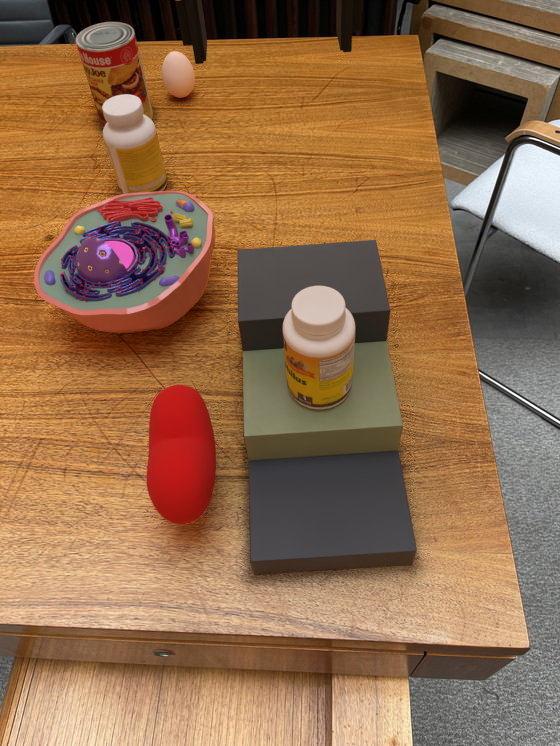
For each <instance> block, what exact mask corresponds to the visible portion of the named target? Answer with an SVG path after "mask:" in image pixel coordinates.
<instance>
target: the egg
mask: <svg viewBox="0 0 560 746" xmlns="http://www.w3.org/2000/svg"><path fill="white" fill-rule="evenodd" d="M161 79H162V82H163V85H164V88H165V89H166V91H167V92H168V93H169V94H170V95H172V96H173V97H176V98H178V99H183V98H186V97H187V96H189V95H190V94H191V93H192V91H193V89H194V87H195V84H196V83H195V82H196V76H195V71H194V68H193V65H192V62H190V60H189V59H188V57H187V56H186V55H185V54H183V53H182V52H181V51H176V50H174V51H171V52H168V54H167V55H166V56H165V58H164V60H163V62H162V67H161Z"/></svg>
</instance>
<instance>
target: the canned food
mask: <svg viewBox="0 0 560 746" xmlns="http://www.w3.org/2000/svg"><path fill="white" fill-rule="evenodd" d="M75 44H76V47H77V51H78V53H79V56H80V57H79V58H80V60H81V63H82V66H83V67H82V68H83V70H84V73H85V77H86V80H87V83H88V86H89V89H90V94H91V96H92V99H93V102H94V106H95V109H96V113H97V115H98V119H99V123H100V125H101V127H102V128H103V129H104V127H105V125H106V123H107V121H106V120H105V118H104V114H103V110H102V106H103V104H104V102H105V101H107V100H108V99H110V98H112V97H114V96H117V95H124V94H130V95H134V96H137V97H138V98H139V99H140V100H141V102H142V106H143V109H144V115H146V116H147V117H149V118H150V119H151V120H152V119H153V118H154V111H153V107H152V102H151V98H150V94H149V89H148V85H147V81H146V75H145V71H144V68H143V63H142V58H141V55H140V50H139V46H138V41H137V37H136V33H135V29H134V28H133V27H132V26H131V25H130V24H128V23H125V22H120V21H106V22H100V23H95V24H93V25H92V24H91V25H90V26H88V27H86V28H84V29H83V30H81V31H79V33H78V34H77V35H76V37H75ZM152 121H153V120H152Z"/></svg>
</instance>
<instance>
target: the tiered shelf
mask: <svg viewBox="0 0 560 746" xmlns="http://www.w3.org/2000/svg"><path fill="white" fill-rule="evenodd" d="M236 251H237V253H236V254H237V324H238V331H239V336H240V337H239V338H240V342H241V343H240V344H241V348H242V349H241V350H242V386H243V387H242V392H243V393H242V397H243V409H242V410H243V440H244V445H245V449H246V455H247V460H248V506H249V507H248V509H249V562H250V566H251V570H252V574H253V575H255V576H256V575H257V576H259V575H273V574H287V573H288V574H289V573H303V572H321V571H335V570H350V569H351V570H352V569H365V568H367V569H368V568H379V567H381V568H383V567H398V566H411V565H412V566H413V565H414V561H415V559H416V558H415V557H416V554H417V545H416V539H415V534H414V529H413V521H412V517H411V511H410V506H409V501H408V495H407V490H406V484H405V479H404V474H403V467H402V463H401V456H400V451H399V450H400V445H401V444H400V442H401V437H402V433H403V427H404V424H403V418H402V412H401V408H400V402H399V397H398V392H397V387H396V381H395V377H394V371H393V367H392V366H393V365H392V361H391V356H390V351H389V350H390V349H389V344H388V335H389V334H388V333H389V326H390V317H391V306H390V302H389V296H388V291H387V287H386V282H385V277H384V272H383V266H382V263H381V256H380V252H379V247H378V242H377V239H367V240H366V239H365V240H353V241H339V242H325V243H311V244H299V245H286V246H285V245H284V246H271V247H270V246H269V247H259V248H243V249H237V250H236ZM311 286H327V287H330V288H333V289H335V290H336V291H338V292H339V293H340V294H341V295H342V297H343V298H344V300H345V307H346V308H347V309H348V310H349V311H350V313H351V314H352V316H353V318H354V321H355V346H354V364H353V378H352V387H351V390H350V392H349V394H348V396H347V397H346V398H345V399H344V400H343V401H342V402H341V403H340V404H338V405H336V406H334V407H331V408H327V409H312V408H308V407H305V406H303V405H301V404H300V403H298V402H297V401H296V400H295V399H294V398H293V397H292V395H291V394H290V392H289V389H288V386H287V378H286V366H285V353H284V342H283V322H284V319H285V316H286V315H287V313H288V312H289V311H290V310H291V309H292V301H293V299H294V297H295V296H296V294H297V293H299V292H300V291H301V290H303V289H305V288H308V287H311Z"/></svg>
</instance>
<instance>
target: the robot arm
mask: <svg viewBox="0 0 560 746" xmlns="http://www.w3.org/2000/svg"><path fill="white" fill-rule="evenodd" d="M363 1H364V0H336V23H335V25H336V26H335V29H336V36H337V41H338V42H337V43H338V46H339V50H340V51H342V52H343V53H344V54H345V53H352V50H353V48H352V47H353V33H360V32H362V28H363V27H362V24H363V3H364V2H363ZM174 2H175V8H176V14H177V20H178V25H179V30H180V36H181V41H182V45H183V47H187V46H192V50H193V58H194V64H195V65H200V64H201V65H202V64H204V62H207V56H208V55H207V54H208V37H207V31H206V22H205V16H204V10H203V3H202V0H174Z"/></svg>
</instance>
